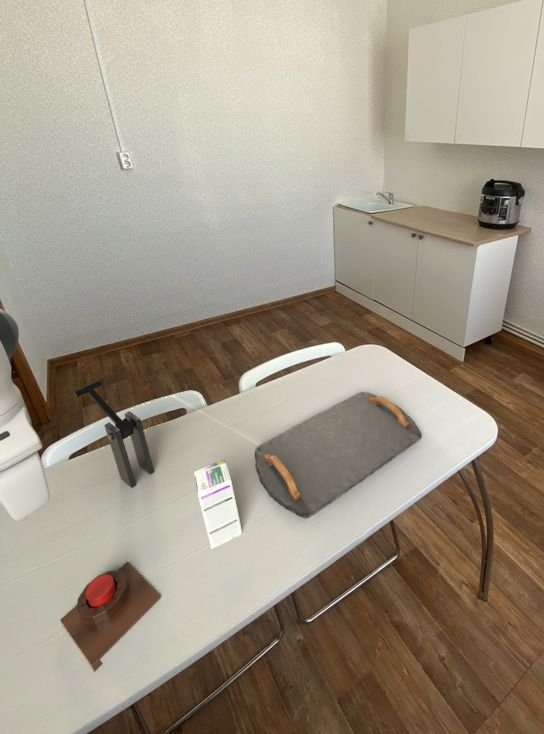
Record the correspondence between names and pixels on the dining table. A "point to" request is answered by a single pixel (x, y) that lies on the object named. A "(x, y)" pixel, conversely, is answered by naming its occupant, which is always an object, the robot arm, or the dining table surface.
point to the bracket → (121, 452)
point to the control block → (109, 615)
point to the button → (100, 591)
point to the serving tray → (333, 452)
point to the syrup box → (218, 503)
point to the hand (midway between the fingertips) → (17, 503)
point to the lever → (106, 408)
